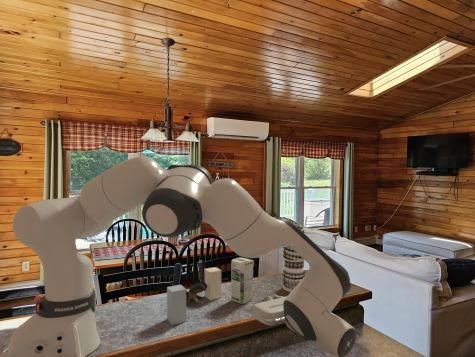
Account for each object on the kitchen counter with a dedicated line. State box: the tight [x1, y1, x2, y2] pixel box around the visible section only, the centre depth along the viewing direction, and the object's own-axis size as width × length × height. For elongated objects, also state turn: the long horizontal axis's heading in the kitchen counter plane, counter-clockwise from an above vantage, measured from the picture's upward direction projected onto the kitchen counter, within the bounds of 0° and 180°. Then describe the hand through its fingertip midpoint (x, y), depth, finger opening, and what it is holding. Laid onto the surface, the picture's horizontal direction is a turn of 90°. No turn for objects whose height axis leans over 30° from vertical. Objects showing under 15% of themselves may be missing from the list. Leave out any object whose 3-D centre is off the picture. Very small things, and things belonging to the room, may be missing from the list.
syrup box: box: [230, 257, 254, 305], centre depth 114 cm, size 6×6×14 cm
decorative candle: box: [282, 223, 306, 293], centre depth 125 cm, size 9×9×25 cm
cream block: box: [204, 266, 222, 301], centre depth 117 cm, size 4×4×10 cm
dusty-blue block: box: [166, 284, 187, 326], centre depth 99 cm, size 4×4×10 cm
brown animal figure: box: [186, 281, 207, 307], centre depth 113 cm, size 8×7×9 cm
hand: (270, 297), depth 98 cm, fingers closed
